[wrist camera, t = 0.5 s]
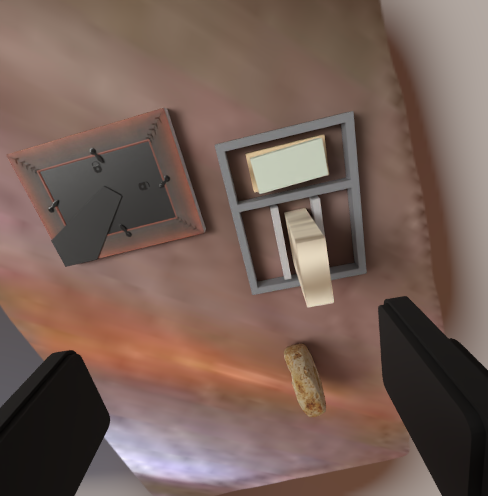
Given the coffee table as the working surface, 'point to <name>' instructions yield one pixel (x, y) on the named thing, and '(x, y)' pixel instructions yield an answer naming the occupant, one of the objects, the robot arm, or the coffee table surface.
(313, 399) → the tan rounded piece
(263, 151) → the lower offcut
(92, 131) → the picture frame
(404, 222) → the coffee table surface
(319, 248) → the birch board
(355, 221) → the rack
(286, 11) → the coffee table surface
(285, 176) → the upper offcut
